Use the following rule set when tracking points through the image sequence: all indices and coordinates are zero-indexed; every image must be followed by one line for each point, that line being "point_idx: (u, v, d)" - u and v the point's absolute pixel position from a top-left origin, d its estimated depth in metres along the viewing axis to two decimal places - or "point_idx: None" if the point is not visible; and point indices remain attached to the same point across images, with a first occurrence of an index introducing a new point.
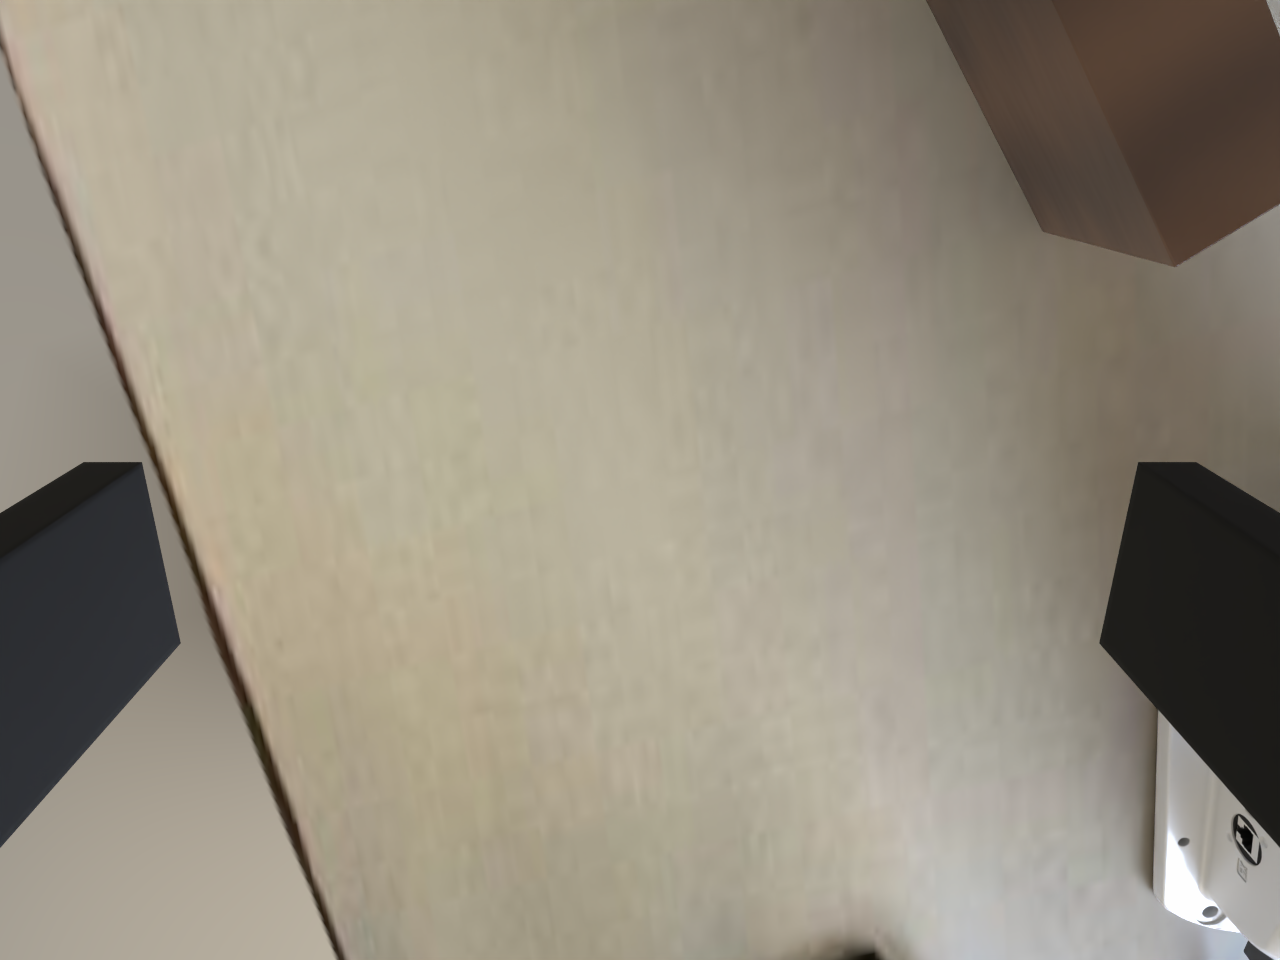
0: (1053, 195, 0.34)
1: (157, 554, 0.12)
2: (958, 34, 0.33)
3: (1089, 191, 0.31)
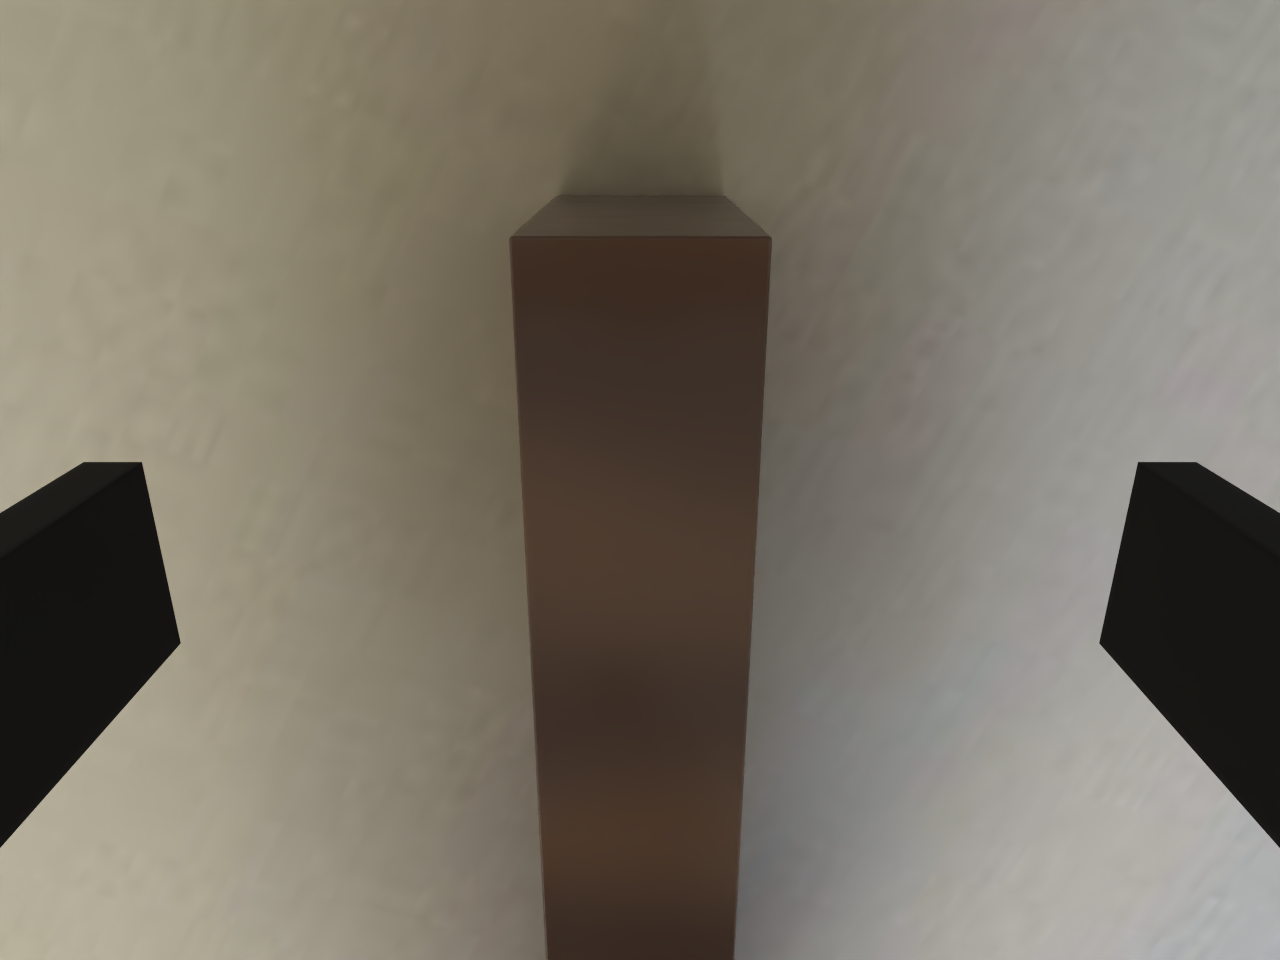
0: None
1: (157, 554, 0.12)
2: None
3: None
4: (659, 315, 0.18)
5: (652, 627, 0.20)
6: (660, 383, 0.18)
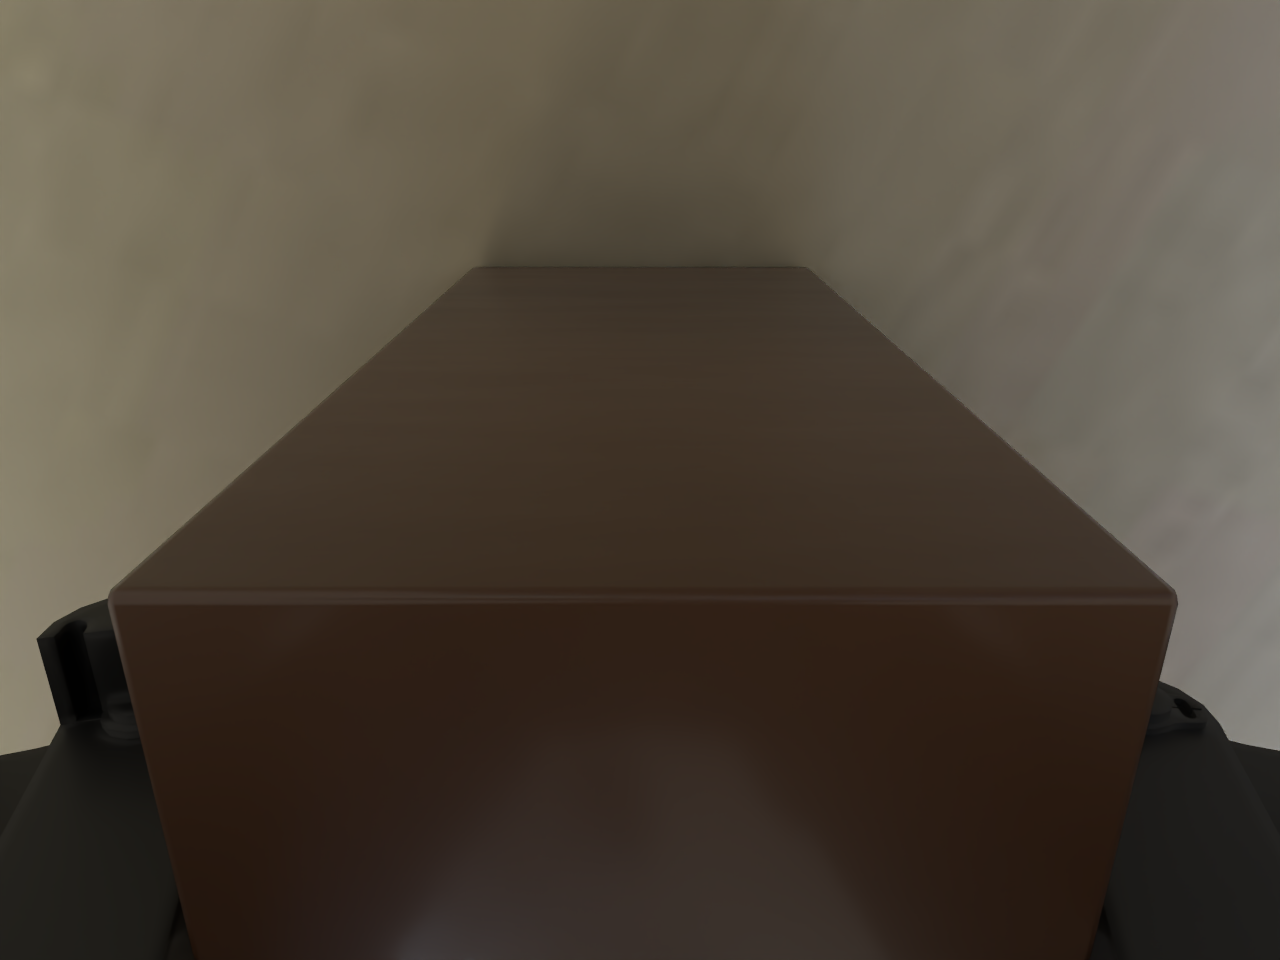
0: None
1: None
2: None
3: None
4: (715, 851, 0.05)
5: None
6: None
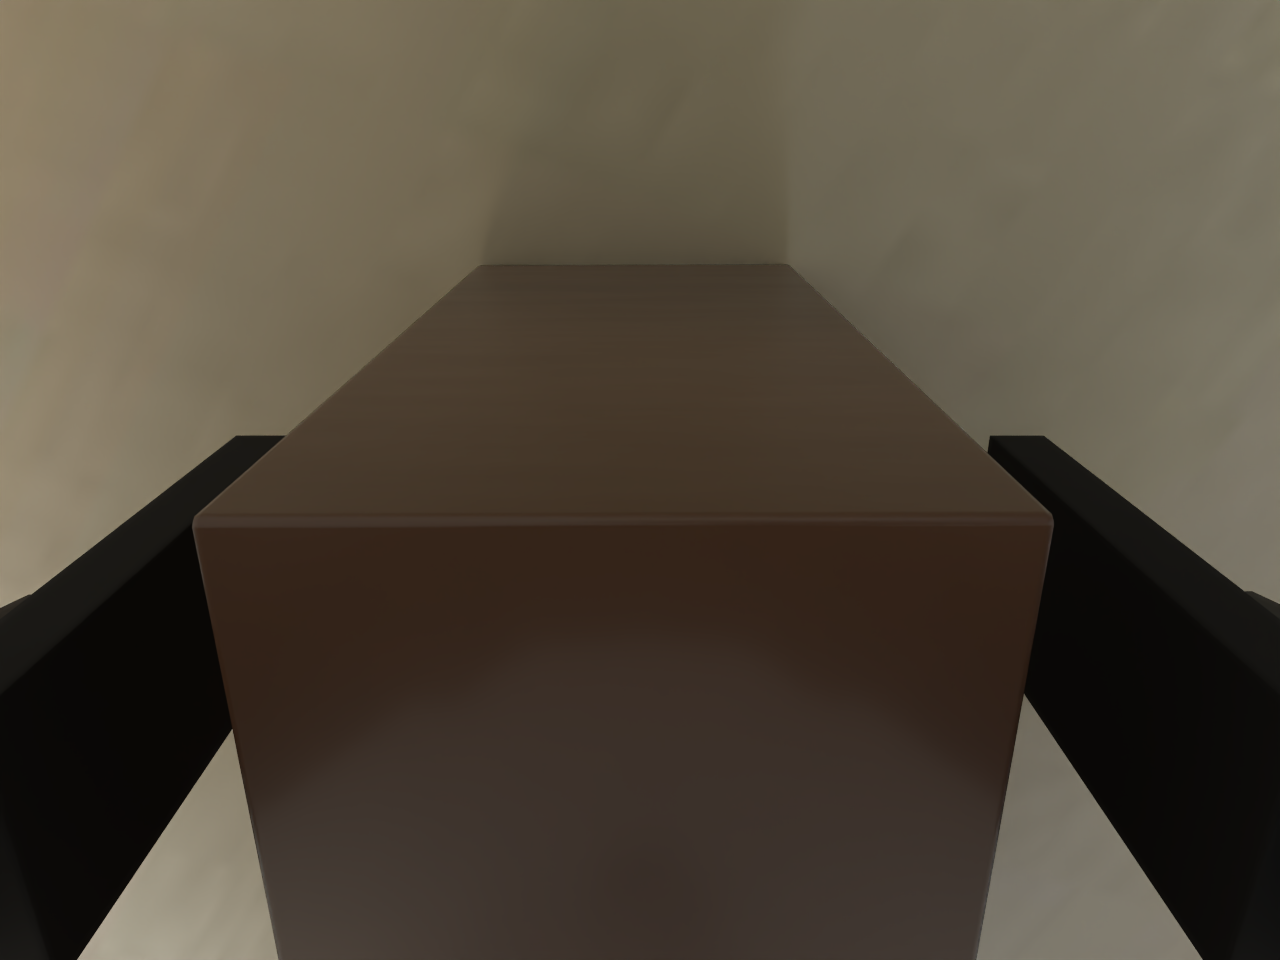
0: None
1: None
2: None
3: None
4: (685, 736, 0.06)
5: None
6: (686, 898, 0.06)
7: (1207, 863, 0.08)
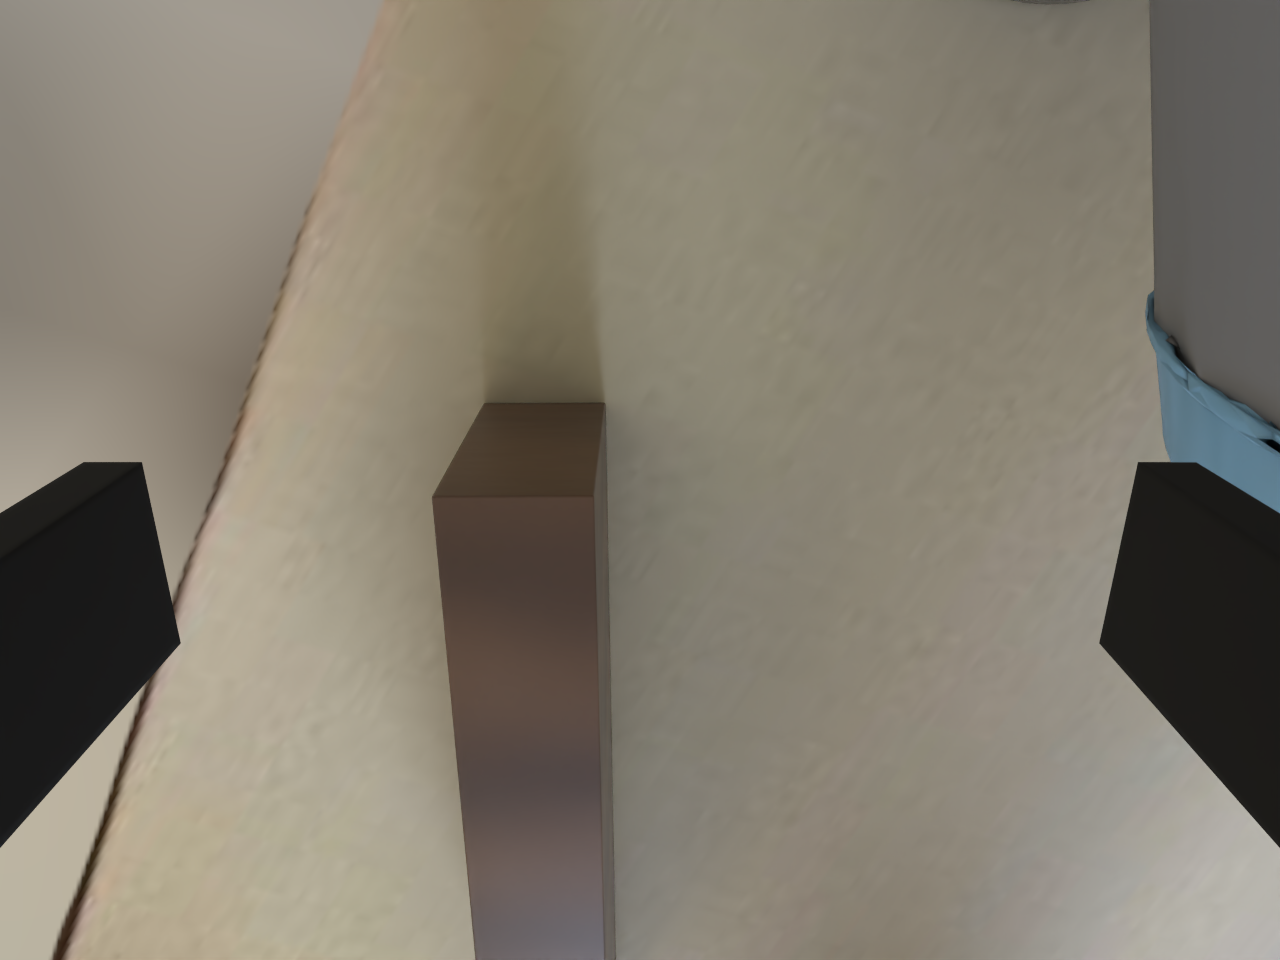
0: None
1: (158, 555, 0.12)
2: None
3: None
4: (527, 540, 0.28)
5: (534, 726, 0.31)
6: (530, 578, 0.29)
7: None
